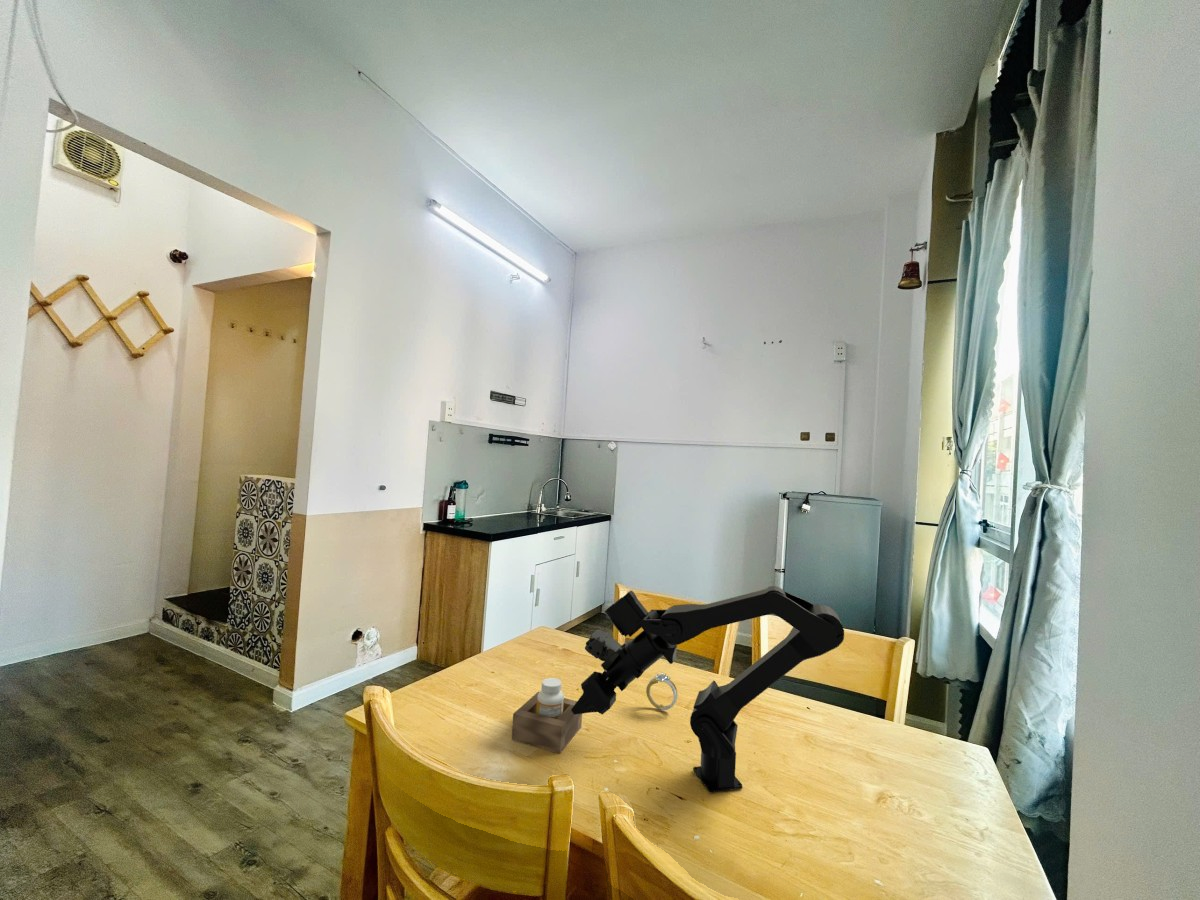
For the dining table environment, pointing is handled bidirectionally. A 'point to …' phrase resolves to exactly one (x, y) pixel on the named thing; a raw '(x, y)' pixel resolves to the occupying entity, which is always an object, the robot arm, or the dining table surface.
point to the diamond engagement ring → (665, 679)
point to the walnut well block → (545, 726)
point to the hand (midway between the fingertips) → (582, 701)
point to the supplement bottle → (550, 699)
